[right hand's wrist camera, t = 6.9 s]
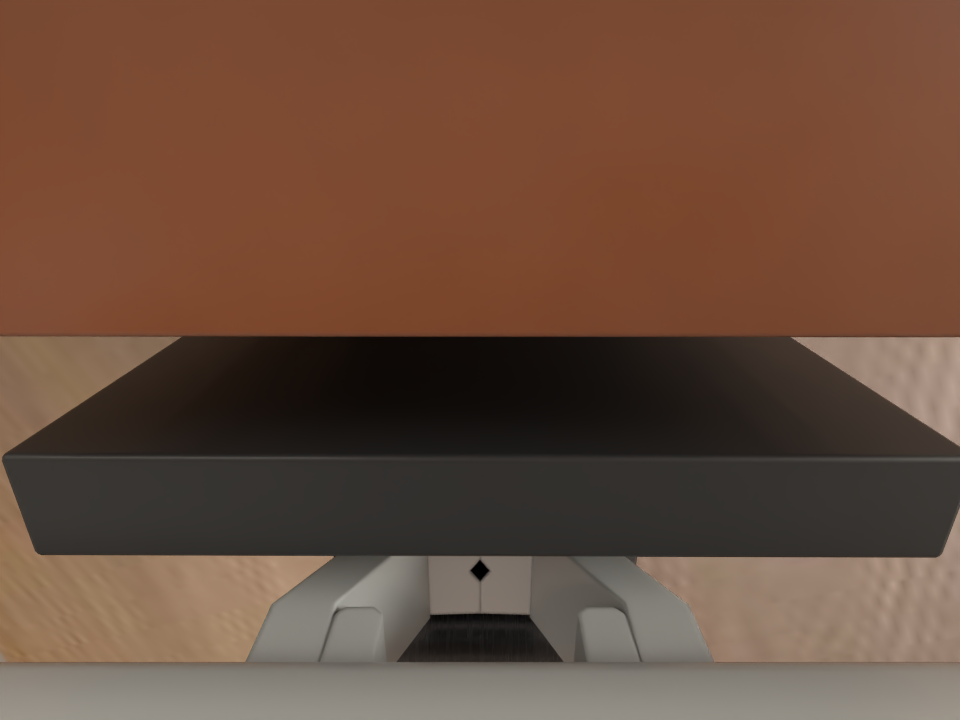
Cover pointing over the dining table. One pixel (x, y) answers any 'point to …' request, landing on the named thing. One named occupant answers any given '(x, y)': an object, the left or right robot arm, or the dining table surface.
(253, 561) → the dining table surface
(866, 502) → the drawer
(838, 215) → the cabinet
